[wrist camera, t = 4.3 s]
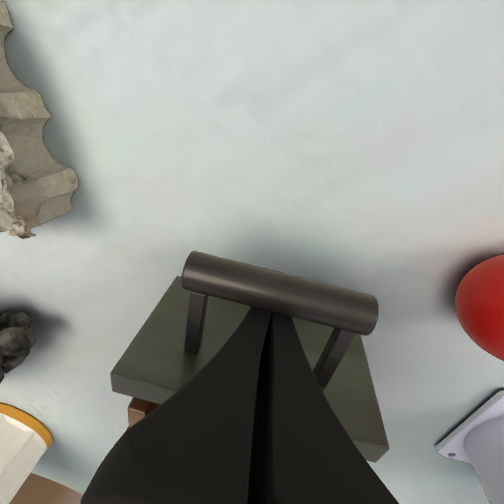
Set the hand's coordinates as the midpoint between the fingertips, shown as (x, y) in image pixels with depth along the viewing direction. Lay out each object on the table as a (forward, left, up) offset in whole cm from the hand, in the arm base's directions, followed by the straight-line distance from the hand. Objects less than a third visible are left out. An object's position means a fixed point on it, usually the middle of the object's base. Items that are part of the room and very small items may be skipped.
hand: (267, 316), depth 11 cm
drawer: (0, +6, -4) cm, 7 cm away
